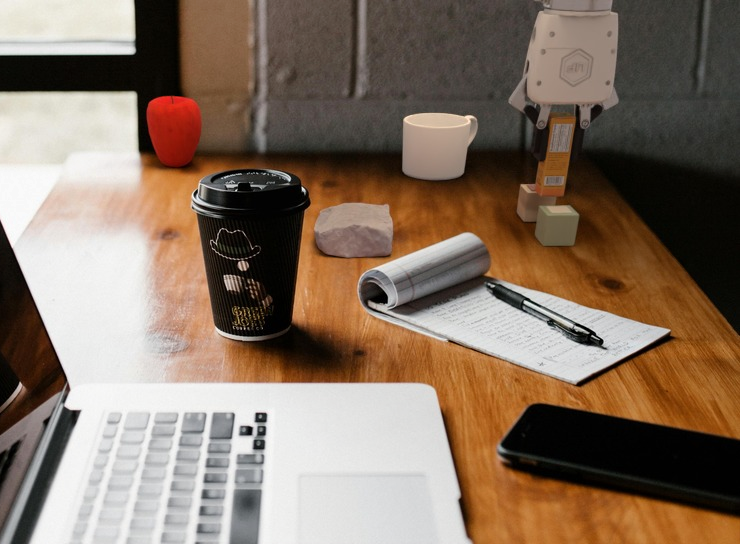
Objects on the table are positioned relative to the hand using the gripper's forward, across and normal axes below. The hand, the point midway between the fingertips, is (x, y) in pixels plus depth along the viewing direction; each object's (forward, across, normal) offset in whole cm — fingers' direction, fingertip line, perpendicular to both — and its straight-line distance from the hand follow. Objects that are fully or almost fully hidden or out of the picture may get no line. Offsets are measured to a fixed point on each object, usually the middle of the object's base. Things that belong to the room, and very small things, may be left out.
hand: (554, 157), depth 110 cm
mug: (+10, -9, +29) cm, 32 cm away
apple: (+10, -52, +35) cm, 63 cm away
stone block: (+10, -26, -4) cm, 28 cm away
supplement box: (+5, 0, 0) cm, 5 cm away
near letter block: (+9, 0, -5) cm, 10 cm away
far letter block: (+9, 0, +5) cm, 10 cm away
